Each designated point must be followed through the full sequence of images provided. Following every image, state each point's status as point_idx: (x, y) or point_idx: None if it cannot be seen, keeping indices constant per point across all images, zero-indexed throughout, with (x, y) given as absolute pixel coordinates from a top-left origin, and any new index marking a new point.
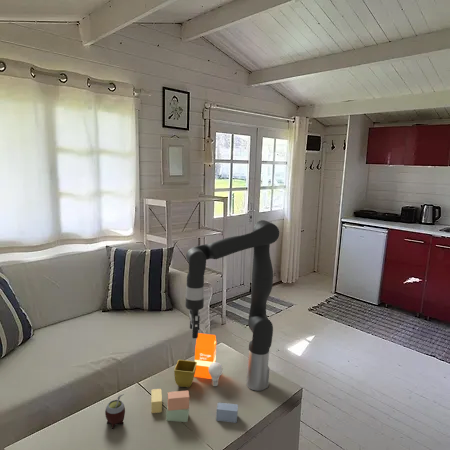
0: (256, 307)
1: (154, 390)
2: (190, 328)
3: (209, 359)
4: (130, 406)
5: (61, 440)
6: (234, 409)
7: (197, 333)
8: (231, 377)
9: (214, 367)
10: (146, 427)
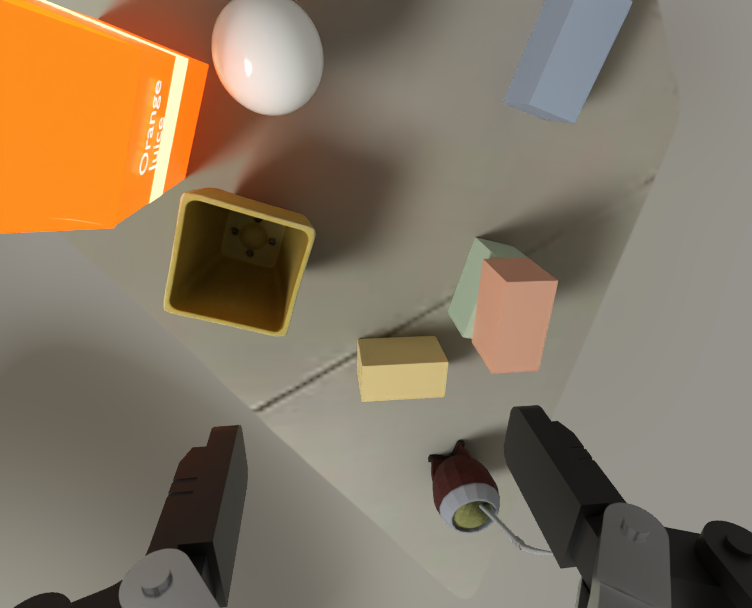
0: None
1: (370, 390)
2: (245, 475)
3: (164, 89)
4: (381, 431)
5: (479, 550)
6: (613, 15)
7: (570, 454)
8: None
9: (302, 74)
10: (496, 378)
